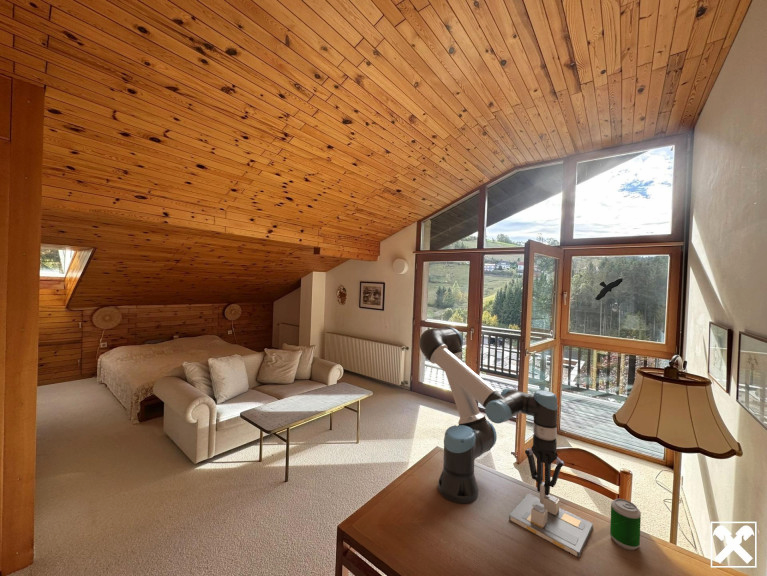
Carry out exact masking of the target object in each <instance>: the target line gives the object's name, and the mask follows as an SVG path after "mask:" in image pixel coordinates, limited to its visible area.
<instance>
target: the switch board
mask: <svg viewBox="0 0 767 576" xmlns="http://www.w3.org/2000/svg"><path fill="white" fill-rule="evenodd" d="M535 504H537V505H539V506H541V507H543V508H544V504H541V503H540V497H537V496H536V495H533V494H531V493H529V492H528V493H527V494H526V495H525V496H524V497H523V499H522V500H521V501H520V502H519V503H518V505H516V506H515V508H514V509H513V510H512V511H511V513H510V514H509V516H508V520H510V521H511V522H512V523H515V524H516V525H519V526H520V527H522V528H524V529H525V530H527V531H529V532H531V533H532V534H534V535H536V536H538V537H541V538H542V539H544V540H546V541H547V542H549V543H551V544H552V545H554V546H557V547H559V548H560V549H563V550H564V551H566V552H568V553H569V552H570V553H569V554H572V555H573V556H576V557H577V558H580V556H581V554H582V552H583V550H584V548H585V546H586V544H587V541H588V539H589V538H590V535H591V533H592V530H593V528H594V523H593V522H592V521H589V520H587V519H584V518H582V517H580V516H578V515H576V514H574V513H571V512H570V511H567V510H565V509H563V508H561V507H559V512H558V513H557V515H554V514H552V513H550V512H547V523H546V524H545V526H544V527H542V526H540V525H538V524H536V523H534V522H532V521H531V508H532V507H533V506H534V505H535Z"/></svg>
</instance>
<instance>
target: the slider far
mask: <svg viewBox="0 0 767 576" xmlns="http://www.w3.org/2000/svg"><path fill="white" fill-rule="evenodd" d="M544 508H545V509H546V510H548V512H550V513H552V514H554V515H557V513H558V512H559V508H560V499H559V498H558V497H556V496H554V495H551V494H549V495H546V496H545V497H544Z"/></svg>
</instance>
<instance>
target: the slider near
mask: <svg viewBox="0 0 767 576" xmlns="http://www.w3.org/2000/svg"><path fill="white" fill-rule="evenodd" d="M547 512H548V510H546V509H545V508H543V507H541V506H539V505H537V504H535V505H534V506H533V507H532V508H531V521H532V522H534V523H536V524H538V525H540V526H542V527H544V526H545V524H546V523H547Z"/></svg>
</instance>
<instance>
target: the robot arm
mask: <svg viewBox="0 0 767 576" xmlns="http://www.w3.org/2000/svg"><path fill="white" fill-rule="evenodd" d="M463 344H464V341H463V336H462V334H461V332H460V331H459V330H457V329H456V328H454V327H452V326H443V327H435V328H434V327H433V328H428V329H426V330H425V331H423V332H422V334H421V335H420V337H419V341H418V346H419V349H420V351H421V353H422V354H423V356H424V358H426V359H427V360H428V361H429V362H430V363H431V364H434V365H435V364H436V366H438V367H439V368H440V369H441V370H442V371H444V373H445V375H446V379H447V382H448V385H449V387H450V388H449V389H450V391H451V393H452V397H453V399H454V403H455V406H456V409H457V412H458V415H459V420H458V425H456V424H455V425H452V426H450V427H448V428H447V429H446V430H445V432H444V438H443V465H442V466H443V467H442V471H441V473H440V476H439V478H438V481H437V482H438V483H437V489H438V492H439V494H440V495H441V496H442V497H444V499H446V500H448V501H450V502H453V503H456V504H457V503H458V504H470V503H473V502H475V501H476V500H477V498H478V495H479V487H478V482H477V479H476V476H475V461H476V459H478V458H479V457H481V456H482V455H483V454H485V453H487V452H489V451H491V449H492V448H493V447H494V446H495V444H496V442H497V435H498V434H497V431H496V429H495V427H494V424H502V423H505V422H507V421H508V420H510V419H512V418H514V417H516V416H517V415H518V414H524V415H526V416H531V417H533V424H532V425H533V428H532V432H533V434H532V446H531V448H529V447H528V448H527V449H525V451H524V453H525V455H526V457H527V460H528V465H529V471H530V475H531V478H532V480H534V481H536V483H537V485H536V487H537V488H536V490H537V492H538V493H539V498H540V503H541V504H544V497H545V496H546V495H550V492H551V488H554V487H555V486H556V485H557V481H558V479H559V475H560V472H561V469H562V467H563V466H564V465H565V463H566V462H565V461H564V460H561V458H559V454H558V453H557V443H558V442H557V437H558V409H559V406H558V397H557V395H556V393H554V392H551V391H549V390H542V389H541V390H535V391H534V393H533V394H532V393H527V392H524V391H520V390H516V389H513V388H504V389H502V391H501V393H500V392H499V391H497V390H496V389H495V388H493V386H491V384H489V383H488V382H487V381H485V380H484V379H483V378H482V377H481V376H479V375H478V374H477V373H476V372H474V370H472V369H471V367H469V366H468V365H467V364H466V363H464V362H463V360H462V355H463V350H462V347H463ZM477 402H478V403H479V404H480V405H481V406H482V407H483V408H484V411H485V412H484V413H485V414H484V413H482V412H481V411H480V409H479V406H478V404H477ZM486 417H487V418H486ZM487 419H488V420H487ZM491 422H492V423H491ZM493 423H494V424H493ZM535 458H536V460H535ZM554 461H555V464H556V466H555V468H554V470H553V475H551V474H552V473H551V472H552V464H553V462H554ZM536 464H537V465H536ZM543 480H544V481H543Z"/></svg>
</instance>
